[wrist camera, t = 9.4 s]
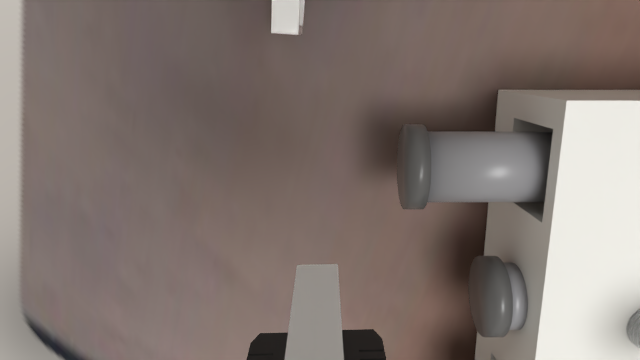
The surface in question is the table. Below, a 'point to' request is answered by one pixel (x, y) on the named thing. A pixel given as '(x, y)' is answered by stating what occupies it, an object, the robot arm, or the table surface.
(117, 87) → the table surface
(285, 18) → the mug
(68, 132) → the table surface
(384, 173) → the table surface
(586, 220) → the white knob control box
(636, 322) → the test tube
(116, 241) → the table surface
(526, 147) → the knob
